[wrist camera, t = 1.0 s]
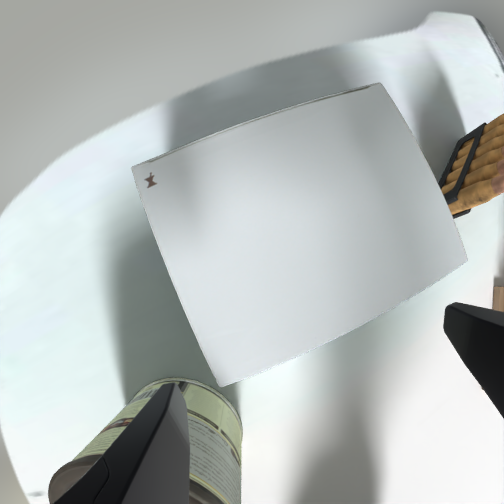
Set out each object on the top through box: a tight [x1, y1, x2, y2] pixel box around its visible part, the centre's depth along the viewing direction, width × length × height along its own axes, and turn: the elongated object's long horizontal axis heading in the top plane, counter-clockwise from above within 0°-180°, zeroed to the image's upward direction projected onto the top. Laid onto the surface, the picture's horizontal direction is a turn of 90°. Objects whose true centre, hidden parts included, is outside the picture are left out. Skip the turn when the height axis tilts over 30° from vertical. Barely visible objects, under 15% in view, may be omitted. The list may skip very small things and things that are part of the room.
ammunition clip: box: [438, 114, 504, 219], centre depth 20 cm, size 11×2×12 cm, turn 143°
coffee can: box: [48, 378, 243, 504], centre depth 16 cm, size 10×10×14 cm
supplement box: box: [131, 83, 468, 387], centre depth 21 cm, size 17×13×9 cm
